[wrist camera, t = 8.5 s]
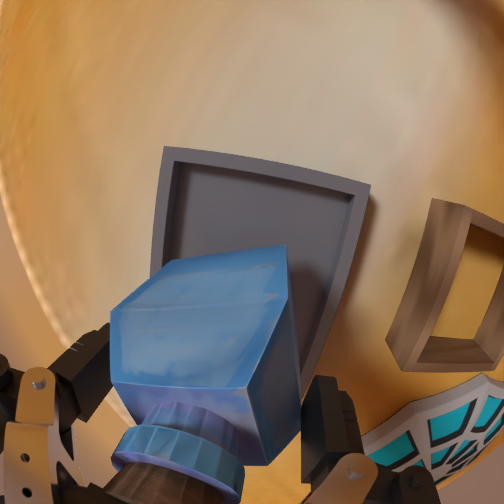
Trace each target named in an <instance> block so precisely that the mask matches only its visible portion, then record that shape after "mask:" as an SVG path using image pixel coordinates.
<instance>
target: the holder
mask: <svg viewBox="0 0 504 504" xmlns="http://www.w3.org/2000/svg"><path fill="white" fill-rule="evenodd" d="M470 225H472V226H475V227H477V228H480V229H482V230H484V231H487V232H489V233H491V234H493V235H496V236H498V237H500V238H502V239H504V224H503V223H501V222H499V221H497V220H495V219H493V218H491V217H489V216H487V215H485V214H482V213H480V212H478V211H476V210H474V209H472V208H469V207H467V206H465V205H461V204H457V203H452V202H448V201H443V200H439V199H434V198H432V200H431V205H430V209H429V214H428V218H427V222H426V226H425V230H424V233H423V237H422V241H421V244H420V248H419V251H418V254H417V258H416V261H415V264H414V267H413V270H412V273H411V276H410V279H409V282H408V285H407V287H406V290H405V293H404V296H403V298H402V301H401V303H400V306H399V308H398V311H397V313H396V316H395V318H394V321H393V323H392V325H391V328H390V330H389V332H388V334H387V337H386V339H385V341H386V343H387V344H388V346H389V348H390V350H391V352H392V354H393V356H394V358H395V360H396V362H397V364H398V365H399V367H400V369H401V371H403V372H478V371H493V370H495V369H496V367H497V365H498V364H499V362H500V360H501V358H502V357H503V355H504V267H503V270H502V273H501V276H500V279H499V282H498V284H497V287H496V290H495V292H494V295H493V298H492V300H491V303H490V305H489V307H488V310H487V312H486V314H485V317H484V319H483V321H482V323H481V325H480V328H479V330H478V332H477V334H476V336H475V338H474V340H470V339H456V338H445V337H434V336H430V334H431V332H432V330H433V328H434V326H435V324H436V321H437V319H438V317H439V315H440V312H441V310H442V308H443V305H444V303H445V300H446V298H447V295H448V293H449V290H450V287H451V285H452V282H453V279H454V276H455V273H456V271H457V268H458V265H459V261H460V258H461V255H462V252H463V248H464V245H465V241H466V238H467V234H468V230H469V226H470Z"/></svg>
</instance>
